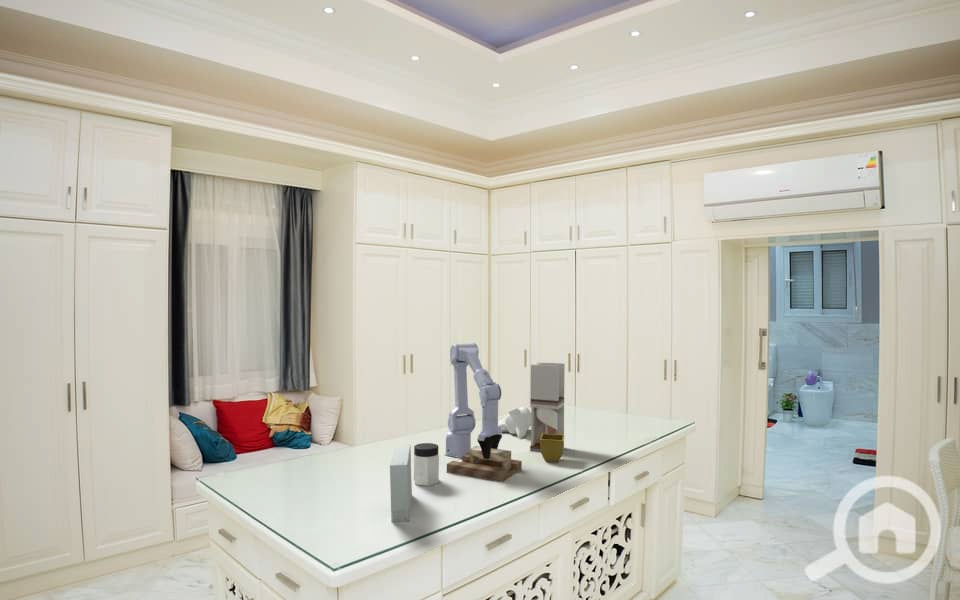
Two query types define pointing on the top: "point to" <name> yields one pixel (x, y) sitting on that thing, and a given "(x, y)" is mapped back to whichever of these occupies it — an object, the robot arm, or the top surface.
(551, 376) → the grey dispenser tower
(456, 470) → the board
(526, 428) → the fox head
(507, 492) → the top surface
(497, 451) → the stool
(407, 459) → the skincare box
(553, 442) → the flower pot
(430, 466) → the jar
